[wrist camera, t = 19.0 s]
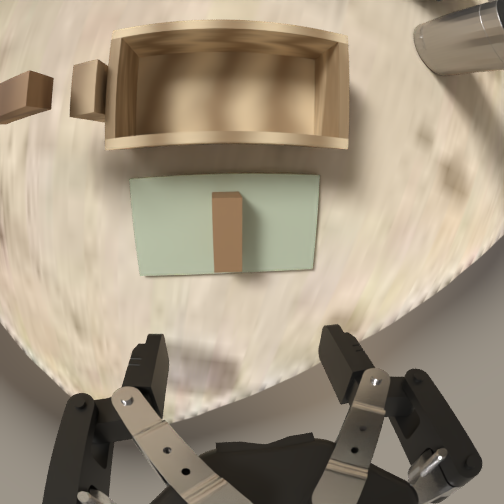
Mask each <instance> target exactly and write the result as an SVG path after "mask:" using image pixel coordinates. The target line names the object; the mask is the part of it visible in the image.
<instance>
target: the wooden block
mask: <svg viewBox="0 0 504 504" xmlns="http://www.w3.org/2000/svg"><path fill="white" fill-rule="evenodd" d="M53 79H54V78H52V77H49V76H46V75H43V74H40V73H37V72H33V71H30V70H29V71H27V72H25V73H22V74H20V75H18V76H15V77H13V78H11V79H9V80H7V81H5V82H2V83H0V124H8V123H11V122H13V121H16V120H19V119H22V118H25V117H28V116H31V115H34V114H37V113H40V112H44V111H47V110H51V103H52V90H53Z"/></svg>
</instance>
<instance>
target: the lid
mask: <svg viewBox="0 0 504 504" xmlns="http://www.w3.org/2000/svg"><path fill="white" fill-rule="evenodd" d="M129 180H130V195H131V207H132V218H133V227H134V236H135V244H136V251H137V258H138V265H139V272H140V276H158V275H190V274H218V273H242V272H264V271H284V270H303V269H313V260H314V249H315V238H316V227H317V214H318V199H319V182H320V175H315V174H286V173H219V174H190V175H171V176H156V177H143V178H132V179H129Z"/></svg>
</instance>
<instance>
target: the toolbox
mask: <svg viewBox="0 0 504 504" xmlns="http://www.w3.org/2000/svg"><path fill="white" fill-rule="evenodd" d="M70 117H73V118H80V119H87V120H93V121H99V122H105V150H118V149H133V148H144V147H156V146H171V145H191V144H270V145H290V146H305V147H318V148H335V149H348V138H349V54H348V36H346V35H342V34H338V33H333V32H329V31H324V30H319V29H314V28H308V27H302V26H296V25H289V24H281V23H273V22H262V21H247V20H190V21H176V22H165V23H156V24H149V25H142V26H136V27H130V28H124V29H119V30H114V31H113V33H112V40H111V47H110V55H109V64H108V66H107V65H106V64H104V63H103V62H101V61H100V60H98V59H97V60H92V61H88V62H84V63H81V64H77V65H74V67H73V75H72V86H71V100H70Z"/></svg>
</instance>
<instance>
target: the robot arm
mask: <svg viewBox="0 0 504 504" xmlns="http://www.w3.org/2000/svg"><path fill="white" fill-rule="evenodd" d="M414 42H415V46H416V49H417V51H418V53H419V55H420V57H421V58H422V60H423V62H424V63H425V64H426V65H427V66H428V67H429V68H430V69H431V70H432V71H433V72H435V73H436V74H439V75H442V76H447V75H457V74H465V73H475V72H486V71H496V70H504V0H495V1H491V2H487V3H483V4H480V5H476V6H473V7H469V8H466V9H463V10H460V11H456V12H453V13H450V14H448V15H445V16H442V17H439V18H436V19H434V20H431V21H428V22H426V23H423V24H421V25H419V26H417V27H416V29H415V31H414ZM319 358H320V361H321V363H322V365H323V367H324V369H325V371H326V374H327V375H328V378H329V380H330V382H331V384H332V386H333V389H334V391H335V393H336V395H337V397H338V400H339V402H340V404H345V403H349V405H350V408H349V411H348V413H347V415H346V418H345V420H344V423H343V425H342V428H341V430H340V432H339V435H338V437H337V439H336V441H335V443H334V442H331V441H328V440H324V439H318V438H314V436H313V433H312V432H311V433H306V434H300V435H294V436H289V437H286V438H283V439H281V440H278V441H276V442H272V443H269V444H255V443H247V442H224V443H216V449H214V450H211V451H207V452H205V453H203V454H201V455H199V456H197V454H195V452H194V451H193V450H192V449H191V448H190V447H189V446H188V445H187V444H186V443H185V442H184V441H183V440H182V439H181V437H180V436H179V435H178V434H177V433H176V432H175V431H174V429H173V428H172V427H171V426H170V425H169V424H168V423H167V422H166V421H165V420H162V418H163V410H164V401H165V393H166V386H167V378H168V371H169V358H168V353H167V348H166V343H165V338H164V335H163V334H148V336H147V340H146V343H145V344H138V345H137V346H136V347H135V348H134V349H133V351H132V354H131V359H130V361H129V365H128V367H127V371H126V374H125V377H124V381H123V384H122V387H121V388H119V389H117V390H116V391H115V392H114V393H113V395H112V397H110V398H106V399H100V400H93V398H92V397H91V396H90V395H88V394H85V393H79V394H75V395H73V396H72V397H71V398H70V399H69V400H68V402H67V404H66V408H65V411H64V414H63V417H62V420H61V424H60V427H59V430H58V434H57V438H56V441H55V445H54V449H53V453H52V457H51V461H50V466H49V470H48V475H47V481H46V486H45V491H44V497H43V503H42V504H116V503H115V502H114V501H113V500H111V499H110V498H109V486H110V475H111V465H112V456H113V448H114V442H116V441H122V440H128V439H132V440H133V441H134V443H135V444H136V445H137V447H138V449H139V450H140V451H141V453H142V454H143V455H144V457H145V458H146V460H147V461H148V462H149V464H150V465H151V466H152V468H153V469H154V470H155V472H156V473H157V474H158V476H159V477H160V478H161V479H162V481H163V482H164V483H165V484H166V485H167V487H166V488H165V489H164V490H163V491H162V492H161V493H160V494H159V495H158V496H157V497H156V498H155V499H154V500H153V501H152V502H151V503H150V504H428V503H439V502H441V501H443V500H444V499H446V498H447V497H448V496H450V495H451V494H453V493H454V492H456V491H457V490H458V489H460V488H461V487H462V486H464V485H465V484H466V483H468V482H469V481H470V480H471V479H473V478H474V477H475V476H476V475H477V474H478V473H479V472H480V470H481V468H482V459H481V457H480V455H479V453H478V452H477V450H476V448H475V447H474V445H473V443H472V441H471V440H470V438H469V436H468V435H467V433H466V432H465V430H464V428H463V427H462V425H461V424H460V422H459V420H458V419H457V417H456V416H455V414H454V412H453V411H452V409H451V408H450V406H449V405H448V403H447V402H446V400H445V399H444V397H443V396H442V394H441V393H440V391H439V390H438V388H437V387H436V385H435V384H434V383H433V381H432V380H431V378H430V377H429V375H428V374H427V373H426V372H424V371H423V370H420V369H411V370H409V371H407V373H406V375H405V377H390V376H389V375H388V373H387V372H385V371H384V370H382V369H378V368H375V367H374V366H373V364H372V362H371V361H370V359H369V358H368V356H367V355H366V353H365V351H363V348H362V347H361V345H360V344H359V342H358V341H357V339H356V338H355V337H354V336H352V335H351V334H350V333H348V332H346V333H344V332H343V330H342V329H341V327H340V326H339V325H338V324H335V325H327V326H324V327H323V329H322V334H321V340H320V345H319ZM384 417H389V419H390V421H391V424H392V426H393V427H394V430H395V432H396V434H397V436H398V438H399V440H400V442H401V445H402V447H403V449H404V451H405V453H406V455H407V458H408V460H409V462H410V464H411V467H410V468H409V471H408V478H409V479H408V482H407V481H405V480H403V479H401V478H399V477H397V476H395V475H393V474H391V473H389V472H387V471H385V470H383V469H381V468H379V467H377V466H375V465H374V464H372V463H371V460H372V457H373V454H374V451H375V448H376V445H377V441H378V438H379V434H380V431H381V428H382V424H383V420H384Z"/></svg>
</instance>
